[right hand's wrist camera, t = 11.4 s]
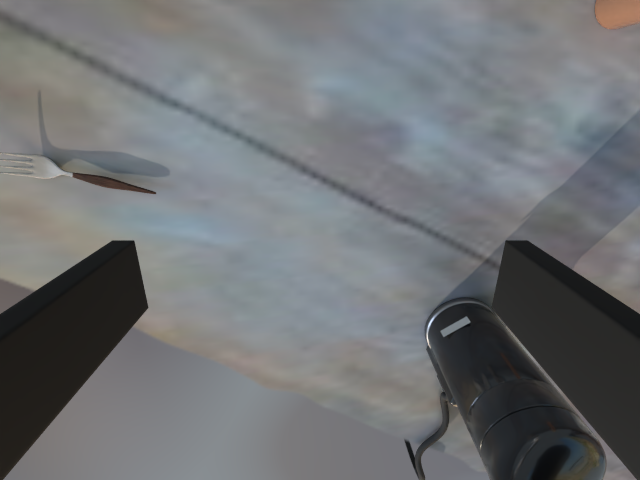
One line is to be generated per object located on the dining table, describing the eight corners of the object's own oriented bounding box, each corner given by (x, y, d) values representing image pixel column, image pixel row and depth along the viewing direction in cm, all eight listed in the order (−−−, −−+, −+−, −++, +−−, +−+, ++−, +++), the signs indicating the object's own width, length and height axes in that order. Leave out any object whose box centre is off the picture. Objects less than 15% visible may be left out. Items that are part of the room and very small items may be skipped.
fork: (157, 203, 40) (149, 207, 38) (13, 171, 39) (-3, 174, 37) (158, 181, 39) (150, 185, 37) (11, 148, 38) (-5, 150, 36)
